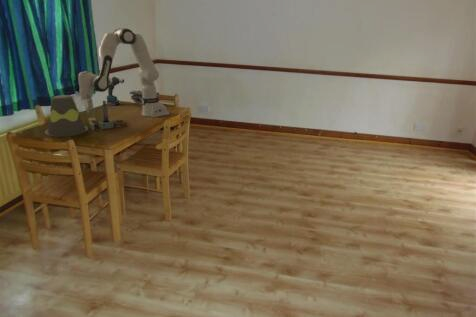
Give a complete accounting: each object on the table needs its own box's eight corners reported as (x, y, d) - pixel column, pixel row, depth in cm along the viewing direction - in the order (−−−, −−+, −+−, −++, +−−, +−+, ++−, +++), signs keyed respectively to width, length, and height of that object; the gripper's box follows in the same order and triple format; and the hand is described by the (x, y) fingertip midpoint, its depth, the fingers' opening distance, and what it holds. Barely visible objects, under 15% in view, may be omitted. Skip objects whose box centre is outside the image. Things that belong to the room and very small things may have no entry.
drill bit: (108, 126, 268) (105, 100, 261) (109, 127, 265) (107, 101, 259) (103, 126, 266) (101, 100, 259) (105, 127, 264) (102, 101, 257)
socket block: (110, 125, 271) (110, 119, 269) (113, 127, 265) (113, 122, 263) (89, 127, 263) (89, 122, 261) (92, 130, 257) (92, 124, 256)
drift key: (94, 123, 274) (93, 117, 272) (97, 125, 268) (96, 119, 267) (88, 123, 272) (88, 118, 270) (91, 126, 266) (90, 120, 264)
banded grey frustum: (40, 137, 239) (34, 101, 230) (48, 126, 264) (43, 92, 255) (86, 135, 246) (82, 99, 238) (89, 124, 271) (86, 91, 263)
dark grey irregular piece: (159, 104, 339) (159, 92, 335) (156, 106, 332) (155, 94, 328) (134, 102, 343) (133, 90, 339) (130, 104, 336) (129, 92, 332)
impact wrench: (123, 106, 326) (121, 78, 317) (100, 104, 330) (97, 76, 321) (128, 104, 333) (125, 76, 324) (105, 102, 337) (102, 75, 328)
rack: (123, 123, 276) (123, 119, 275) (127, 125, 270) (126, 122, 269) (112, 124, 272) (112, 120, 271) (116, 127, 266) (115, 123, 265)
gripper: (94, 96, 263) (96, 115, 268) (87, 91, 279) (89, 109, 284) (85, 97, 260) (87, 116, 264) (78, 92, 275) (80, 110, 280)
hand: (88, 112), depth 274 cm, fingers closed
